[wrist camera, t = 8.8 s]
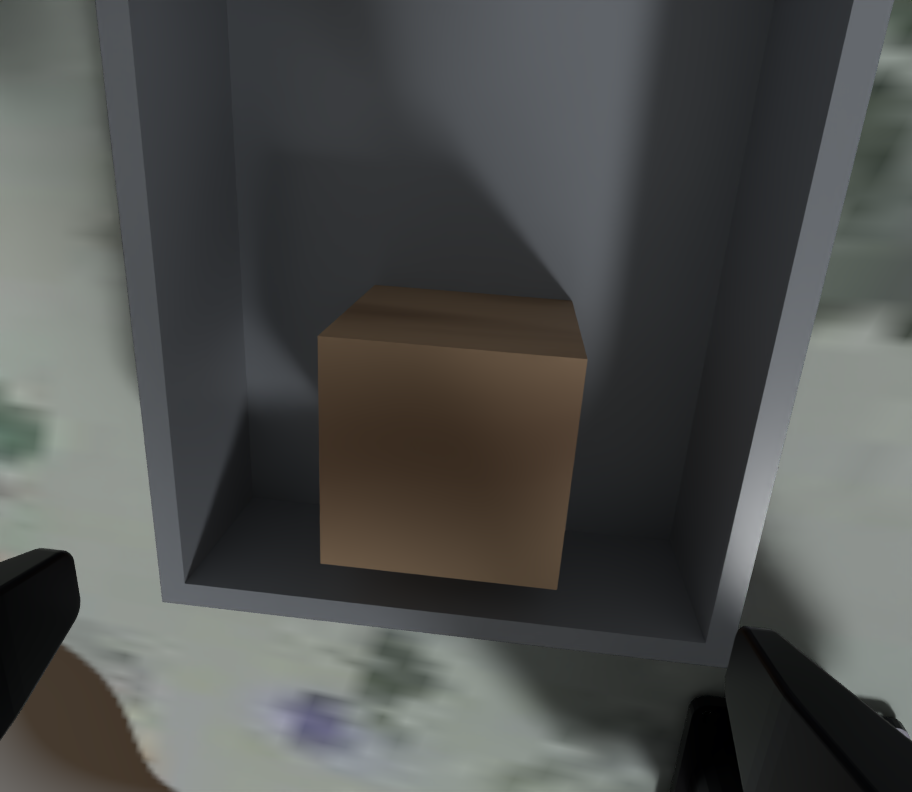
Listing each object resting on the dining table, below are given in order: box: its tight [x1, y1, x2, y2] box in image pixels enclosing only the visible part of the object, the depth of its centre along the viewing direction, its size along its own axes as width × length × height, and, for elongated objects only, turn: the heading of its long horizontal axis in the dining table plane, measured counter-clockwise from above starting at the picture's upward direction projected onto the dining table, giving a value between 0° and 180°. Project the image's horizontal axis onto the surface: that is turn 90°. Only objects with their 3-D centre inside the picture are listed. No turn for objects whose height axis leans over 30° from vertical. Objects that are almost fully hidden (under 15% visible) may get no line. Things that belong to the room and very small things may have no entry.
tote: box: [95, 0, 894, 668], centre depth 15 cm, size 17×13×5 cm
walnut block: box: [318, 285, 588, 590], centre depth 16 cm, size 5×5×5 cm
